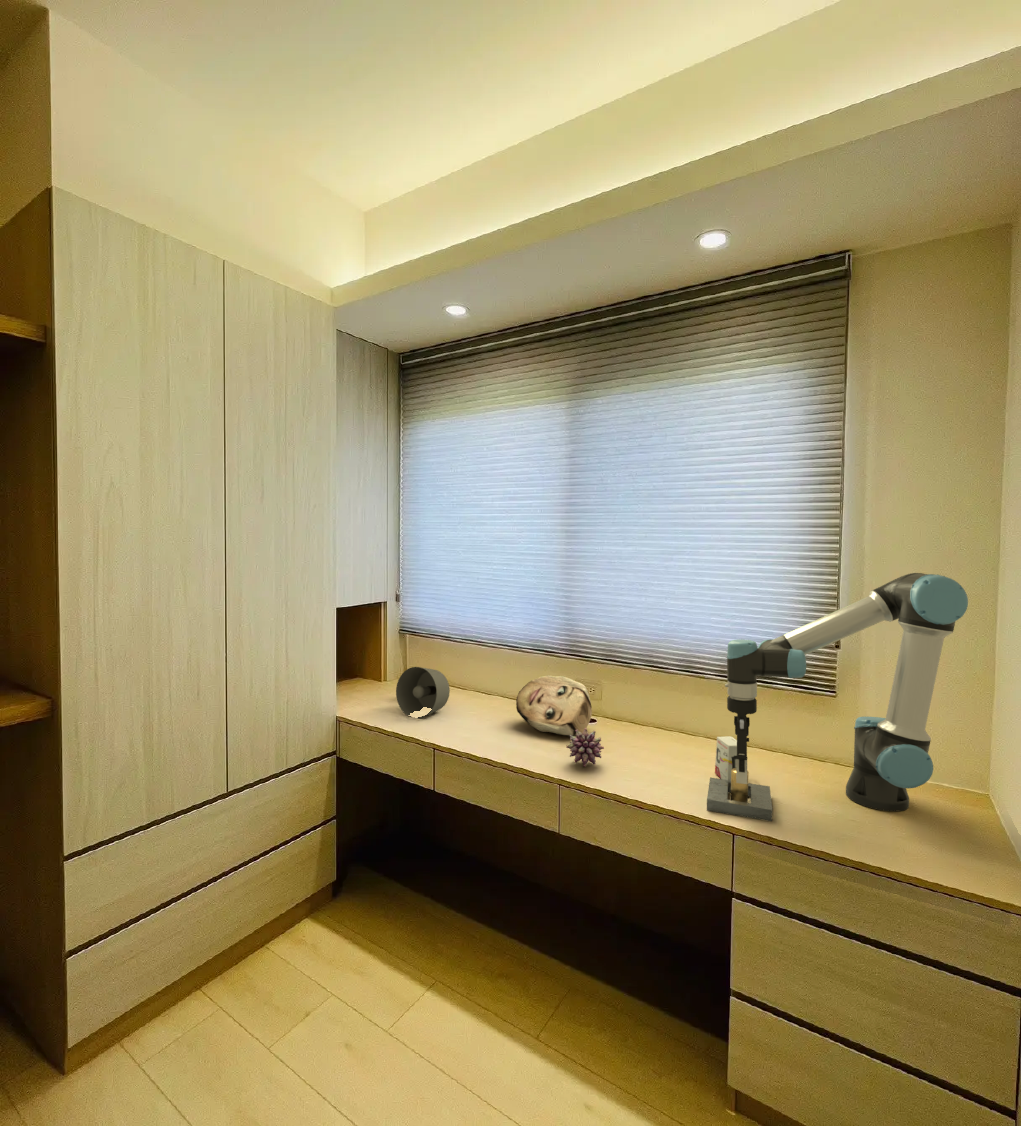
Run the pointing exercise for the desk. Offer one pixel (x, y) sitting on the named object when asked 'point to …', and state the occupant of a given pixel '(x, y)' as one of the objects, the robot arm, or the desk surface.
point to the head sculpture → (555, 705)
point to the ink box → (725, 756)
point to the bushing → (738, 788)
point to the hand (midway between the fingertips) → (741, 773)
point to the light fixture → (422, 690)
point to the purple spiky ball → (585, 747)
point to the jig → (755, 809)
